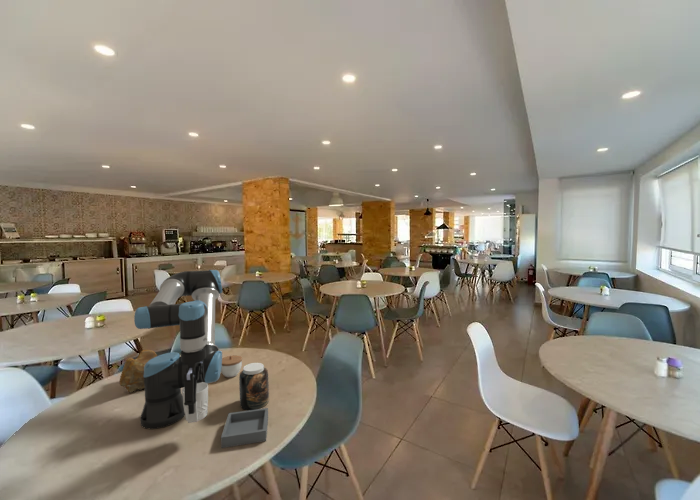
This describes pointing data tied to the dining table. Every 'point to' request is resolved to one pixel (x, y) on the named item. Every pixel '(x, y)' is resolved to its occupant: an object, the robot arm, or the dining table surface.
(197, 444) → the dining table surface
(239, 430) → the tray
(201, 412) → the white cup
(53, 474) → the dining table surface
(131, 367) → the rough brown rock
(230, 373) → the lidded jar
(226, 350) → the dining table surface
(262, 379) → the jar
